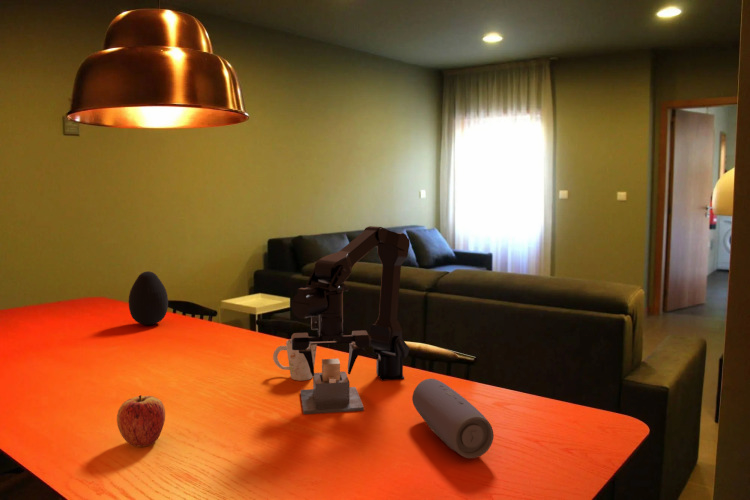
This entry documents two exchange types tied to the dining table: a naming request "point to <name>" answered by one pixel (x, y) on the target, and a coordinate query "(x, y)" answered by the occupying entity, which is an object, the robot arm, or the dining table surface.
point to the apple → (141, 420)
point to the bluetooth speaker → (453, 418)
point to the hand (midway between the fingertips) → (331, 374)
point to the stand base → (330, 396)
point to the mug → (296, 362)
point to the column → (330, 369)
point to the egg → (148, 299)
